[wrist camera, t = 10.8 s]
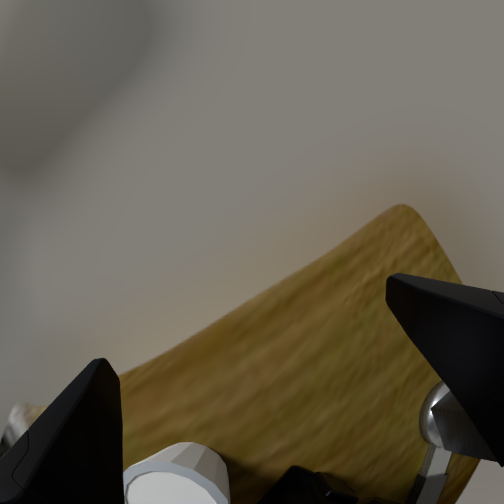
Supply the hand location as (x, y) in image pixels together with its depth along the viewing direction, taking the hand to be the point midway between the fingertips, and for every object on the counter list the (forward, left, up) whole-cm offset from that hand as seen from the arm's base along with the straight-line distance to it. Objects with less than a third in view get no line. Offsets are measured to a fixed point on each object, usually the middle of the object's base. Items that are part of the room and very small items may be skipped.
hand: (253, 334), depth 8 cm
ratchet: (+1, -20, -14) cm, 24 cm away
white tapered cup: (-11, -2, -14) cm, 18 cm away
